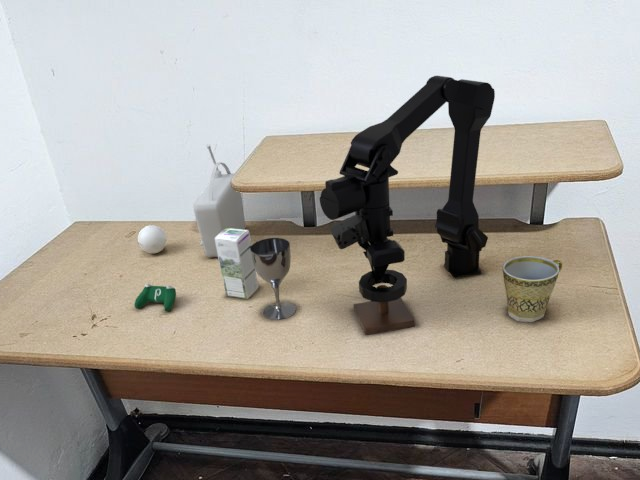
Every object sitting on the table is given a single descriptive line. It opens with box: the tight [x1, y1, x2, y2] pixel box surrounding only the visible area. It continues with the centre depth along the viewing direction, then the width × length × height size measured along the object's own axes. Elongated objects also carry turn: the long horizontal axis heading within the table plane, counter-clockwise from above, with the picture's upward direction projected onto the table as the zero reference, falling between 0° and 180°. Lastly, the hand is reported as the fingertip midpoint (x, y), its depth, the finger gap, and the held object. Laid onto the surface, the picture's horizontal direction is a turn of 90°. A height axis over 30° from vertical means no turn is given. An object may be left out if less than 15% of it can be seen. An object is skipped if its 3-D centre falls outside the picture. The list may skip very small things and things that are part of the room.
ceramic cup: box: [502, 255, 563, 323], centre depth 120 cm, size 13×10×10 cm
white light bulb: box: [127, 224, 168, 254], centre depth 164 cm, size 10×7×7 cm
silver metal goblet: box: [250, 237, 297, 321], centre depth 129 cm, size 8×8×15 cm
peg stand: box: [352, 284, 416, 336], centre depth 125 cm, size 10×10×7 cm
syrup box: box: [215, 228, 260, 300], centre depth 138 cm, size 6×6×14 cm
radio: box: [193, 143, 246, 258], centre depth 159 cm, size 22×8×25 cm, turn 172°
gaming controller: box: [134, 283, 177, 312], centre depth 141 cm, size 9×4×6 cm
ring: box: [358, 269, 408, 302], centre depth 123 cm, size 9×9×2 cm
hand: (377, 277), depth 126 cm, fingers closed on ring, 2 cm apart
